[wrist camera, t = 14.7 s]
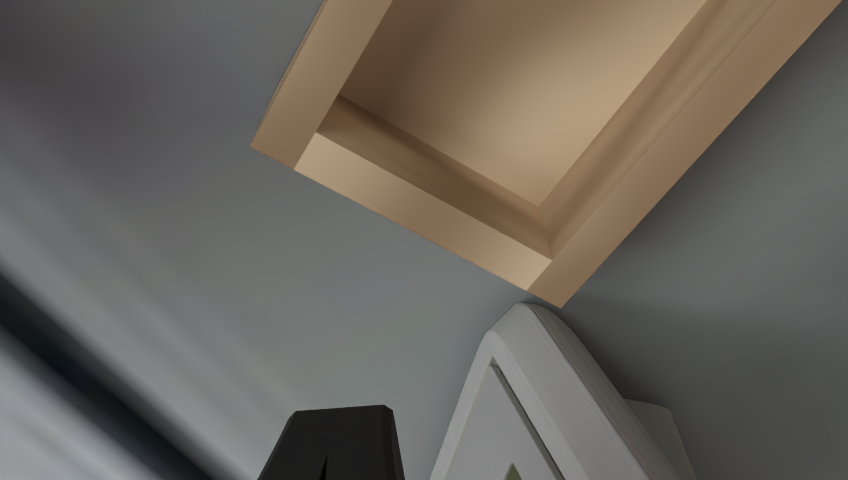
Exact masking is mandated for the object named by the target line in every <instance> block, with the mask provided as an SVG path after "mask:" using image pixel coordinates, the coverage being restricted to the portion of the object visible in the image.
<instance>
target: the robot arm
mask: <svg viewBox="0 0 848 480" xmlns="http://www.w3.org/2000/svg"><path fill="white" fill-rule="evenodd" d="M257 480H405V477H404V472H403V466H402V460H401V455H400V449H399V443H398V437H397V432H396V426H395V420H394V415H393V410H391V409H390V408H388V407H387V406H385V405H373V406H359V407H346V408H332V409H319V410H305V411H296V412H295V413H294V414H293V415H292V416H291V417H290V418H289V419H288V421H287V423H286V425H285V428H284V430H283V432H282V434H281V436H280V438H279V440H278V442H277V443H276V445H275V447H274V449H273V451H272V453H271V455H270V457H269V459H268V461H267V463H266V465H265V466H264V468H263V470H262V472H261V474H260V476H259V477H258V479H257Z"/></svg>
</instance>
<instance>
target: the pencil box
mask: <svg viewBox="0 0 848 480" xmlns="http://www.w3.org/2000/svg"><path fill="white" fill-rule="evenodd" d="M841 1H842V0H323V2H322V4H321V6H320V7H319V9H318V11H317V13H316V15H315V17H314V19H313V21H312V22H311V24H310V26H309V28H308V30H307V32H306V34H305V35H304V37H303V39H302V41H301V43H300V45H299V47H298V48H297V50H296V52H295V54H294V56H293V58H292V60H291V62H290V63H289V65H288V67H287V69H286V71H285V73H284V75H283V76H282V78H281V80H280V82H279V84H278V86H277V88H276V90H275V92H274V94H273V96H272V98H271V101H270V103H269V105H268V107H267V110H266V112H265V114H264V116H263V118H262V121H261V123H260V125H259V127H258V129H257V132H256V134H255V136H254V138H253V140H252V143H251V145H250V147H251V148H253V149H255V150H257V151H259V152H261V153H263V154H264V155H266V156H268V157H270V158H272V159H274V160H276V161H278V162H280V163H282V164H284V165H286V166H287V167H289V168H291V169H293V170H295V171H297V172H299V173H301V174H303V175H305V176H307V177H309V178H311V179H312V180H314V181H316V182H318V183H320V184H322V185H324V186H326V187H328V188H330V189H332V190H334V191H336V192H337V193H339V194H341V195H343V196H345V197H347V198H349V199H351V200H353V201H355V202H357V203H359V204H360V205H362V206H364V207H366V208H368V209H370V210H372V211H374V212H376V213H378V214H380V215H382V216H384V217H385V218H387V219H389V220H391V221H393V222H395V223H397V224H399V225H401V226H403V227H405V228H407V229H409V230H410V231H412V232H414V233H416V234H418V235H420V236H422V237H424V238H426V239H428V240H430V241H432V242H433V243H435V244H437V245H439V246H441V247H443V248H445V249H447V250H449V251H451V252H453V253H455V254H457V255H458V256H460V257H462V258H464V259H466V260H468V261H470V262H472V263H474V264H476V265H478V266H480V267H482V268H483V269H485V270H487V271H489V272H491V273H493V274H495V275H497V276H499V277H501V278H503V279H505V280H506V281H508V282H510V283H512V284H514V285H516V286H518V287H520V288H522V289H524V290H526V291H528V292H530V293H531V294H533V295H535V296H537V297H539V298H541V299H543V300H545V301H547V302H549V303H551V304H553V305H555V306H556V307H558V308H560V309H561V308H562V307H563V306H564V304H565V303H566V302H567V301H568V300H569V299H570V298H571V297H572V296H573V295H574V293H575V292H576V291H577V290H578V289H579V288H580V287H581V286H582V285H583V284H584V283H585V281H586V280H587V279H588V278H589V277H590V276H591V275H592V274H593V273H594V272H595V270H596V269H597V268H598V267H599V266H600V265H601V264H602V263H603V262H604V261H605V260H606V258H607V257H608V256H609V255H610V254H611V253H612V252H613V251H614V250H615V249H616V247H617V246H618V245H619V244H620V243H621V242H622V241H623V240H624V239H625V238H626V236H627V235H628V234H629V233H630V232H631V231H632V230H633V229H634V228H635V227H636V226H637V224H638V223H639V222H640V221H641V220H642V219H643V218H644V217H645V216H646V215H647V213H648V212H649V211H650V210H651V209H652V208H653V207H654V206H655V205H656V204H657V203H658V201H659V200H660V199H661V198H662V197H663V196H664V195H665V194H666V193H667V192H668V190H669V189H670V188H671V187H672V186H673V185H674V184H675V183H676V182H677V181H678V180H679V178H680V177H681V176H682V175H683V174H684V173H685V172H686V171H687V170H688V169H689V167H690V166H691V165H692V164H693V163H694V162H695V161H696V160H697V159H698V158H699V157H700V155H701V154H702V153H703V152H704V151H705V150H706V149H707V148H708V147H709V146H710V144H711V143H712V142H713V141H714V140H715V139H716V138H717V137H718V136H719V135H720V134H721V132H722V131H723V130H724V129H725V128H726V127H727V126H728V125H729V124H730V123H731V121H732V120H733V119H734V118H735V117H736V116H737V115H738V114H739V113H740V112H741V110H742V109H743V108H744V107H745V106H746V105H747V104H748V103H749V102H750V101H751V100H752V98H753V97H754V96H755V95H756V94H757V93H758V92H759V91H760V90H761V89H762V87H763V86H764V85H765V84H766V83H767V82H768V81H769V80H770V79H771V78H772V77H773V75H774V74H775V73H776V72H777V71H778V70H779V69H780V68H781V67H782V66H783V64H784V63H785V62H786V61H787V60H788V59H789V58H790V57H791V56H792V55H793V54H794V52H795V51H796V50H797V49H798V48H799V47H800V46H801V45H802V44H803V43H804V41H805V40H806V39H807V38H808V37H809V36H810V35H811V34H812V33H813V32H814V31H815V29H816V28H817V27H818V26H819V25H820V24H821V23H822V22H823V21H824V20H825V18H826V17H827V16H828V15H829V14H830V13H831V12H832V11H833V10H834V9H835V8H836V6H837V5H838V4H839V3H840V2H841Z"/></svg>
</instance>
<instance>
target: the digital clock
mask: <svg viewBox="0 0 848 480" xmlns="http://www.w3.org/2000/svg"><path fill="white" fill-rule="evenodd" d="M430 480H697V479H696V477H695V474H694V471H693V469H692V466H691V463H690V461H689V458H688V456H687V453H686V450H685V448H684V445H683V443H682V440H681V437H680V435H679V432H678V430H677V427H676V424H675V422H674V419H673V417H672V414H671V412H670V411H669V410H668V409H667V408H665V407H663V406H660V405H657V404H652V403H646V402H641V401H635V400H629V399H624V398H622V397H621V395H620V394H619V393H618V391H617V390H616V389H615V387H614V386H613V384H612V383H611V382H610V380H609V379H608V378H607V376H606V375H605V373H604V372H603V371H602V369H601V368H600V367H599V365H598V364H597V362H596V361H595V360H594V358H593V357H592V356H591V354H590V353H589V352H588V350H587V349H586V347H585V346H584V345H583V344H582V342H581V341H580V340H579V339H578V337H577V336H576V335H575V334H574V332H573V331H572V330H571V329H570V328H569V327H568V326H567V325H566V324H565V323H564V322H563V321H562V320H561V319H560V318H559V317H557V316H556V315H555V314H554V313H553V312H551V311H550V310H549V309H547V308H545V307H542V306H539V305H537V304H531V303H517V304H515V305H514V306H513V307H511V308H510V309H509V310H508V311H507V312H506V313H505V314H504V315H503V316H502V317H501V318H500V319H499V320H498V321H497V322H496V323H495V324H494V325H493V326H492V327H491V328H490V329H489V330H488V331H487V332H486V334H485V336H484V337H483V339H482V341H481V343H480V345H479V348H478V350H477V353H476V355H475V358H474V360H473V363H472V365H471V368H470V371H469V373H468V376H467V379H466V381H465V384H464V387H463V389H462V392H461V395H460V397H459V400H458V403H457V406H456V408H455V411H454V414H453V417H452V419H451V422H450V425H449V428H448V430H447V433H446V436H445V439H444V441H443V444H442V447H441V449H440V452H439V455H438V458H437V460H436V463H435V466H434V469H433V471H432V474H431V477H430Z"/></svg>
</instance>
